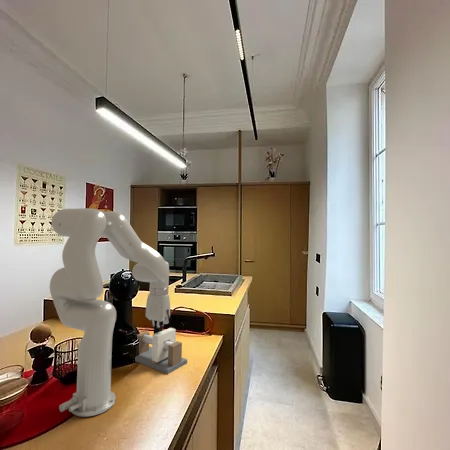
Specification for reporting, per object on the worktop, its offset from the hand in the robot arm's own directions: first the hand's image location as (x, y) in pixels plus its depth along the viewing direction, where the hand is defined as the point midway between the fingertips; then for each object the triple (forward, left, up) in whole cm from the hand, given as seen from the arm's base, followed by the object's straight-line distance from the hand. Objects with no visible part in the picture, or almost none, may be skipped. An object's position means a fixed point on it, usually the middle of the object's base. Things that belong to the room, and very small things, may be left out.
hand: (157, 336), depth 119 cm
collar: (0, -4, -7) cm, 8 cm away
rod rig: (0, 0, -10) cm, 10 cm away
